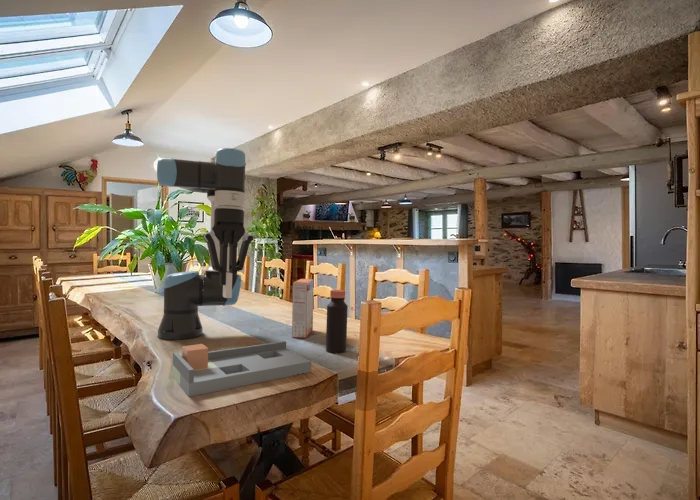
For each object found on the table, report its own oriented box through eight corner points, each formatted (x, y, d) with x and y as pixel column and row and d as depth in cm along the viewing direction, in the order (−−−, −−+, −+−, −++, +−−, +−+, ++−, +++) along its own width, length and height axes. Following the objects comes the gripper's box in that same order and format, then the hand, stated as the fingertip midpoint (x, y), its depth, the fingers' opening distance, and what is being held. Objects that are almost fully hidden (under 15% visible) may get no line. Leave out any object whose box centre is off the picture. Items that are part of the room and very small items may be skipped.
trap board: (172, 375, 100) (173, 352, 100) (284, 357, 119) (284, 337, 119) (188, 396, 87) (189, 370, 87) (310, 372, 106) (311, 350, 106)
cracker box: (298, 329, 157) (300, 278, 157) (313, 330, 157) (314, 278, 157) (290, 337, 143) (292, 281, 143) (306, 338, 143) (308, 282, 143)
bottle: (338, 354, 123) (340, 292, 123) (321, 351, 127) (323, 290, 127) (350, 350, 129) (352, 290, 129) (333, 346, 133) (335, 288, 132)
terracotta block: (181, 365, 99) (182, 346, 99) (202, 362, 102) (202, 343, 102) (186, 371, 95) (187, 351, 95) (207, 367, 98) (208, 348, 98)
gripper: (208, 205, 95) (206, 300, 96) (258, 209, 103) (256, 297, 104) (200, 207, 101) (197, 296, 102) (247, 211, 109) (245, 294, 110)
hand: (227, 297), depth 103 cm, fingers closed
